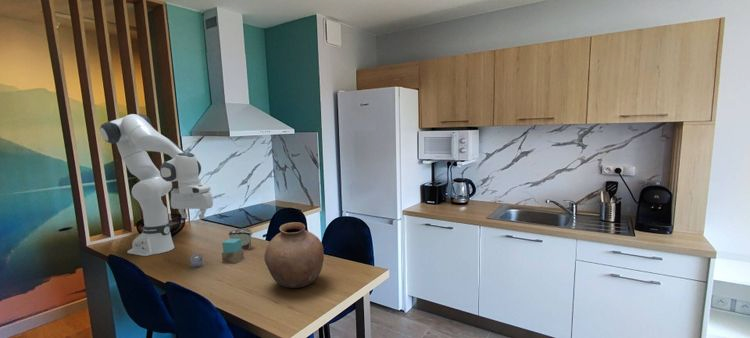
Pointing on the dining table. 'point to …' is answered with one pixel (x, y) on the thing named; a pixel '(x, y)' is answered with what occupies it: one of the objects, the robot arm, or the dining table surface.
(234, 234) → the food container
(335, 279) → the dining table surface
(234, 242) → the teal middle block
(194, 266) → the metal cylinder
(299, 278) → the pottery
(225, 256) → the walnut base block
